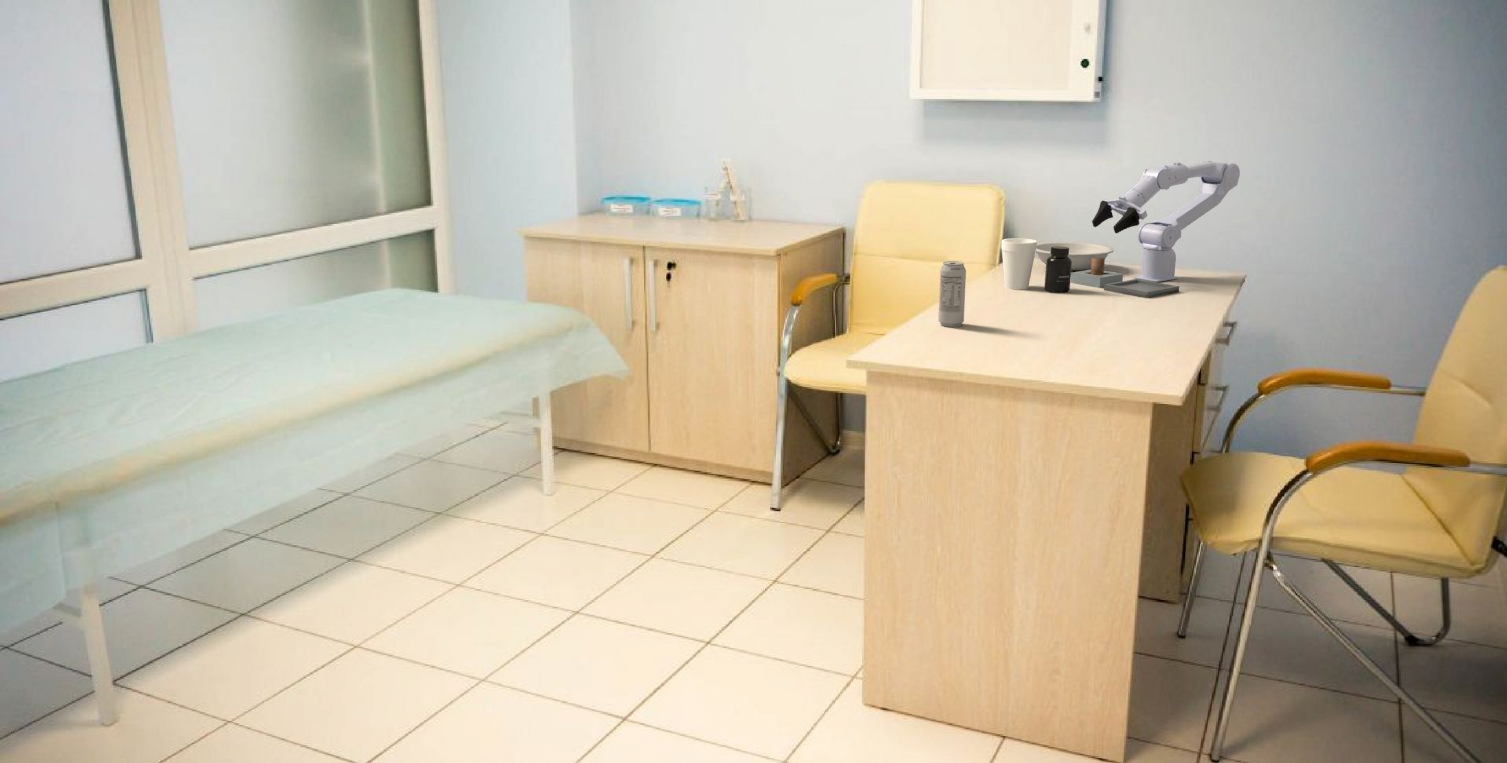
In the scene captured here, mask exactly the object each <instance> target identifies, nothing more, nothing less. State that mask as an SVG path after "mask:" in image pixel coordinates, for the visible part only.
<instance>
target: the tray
mask: <svg viewBox="0 0 1507 763" xmlns="http://www.w3.org/2000/svg"><path fill="white" fill-rule="evenodd" d="M1103 291H1107V292H1112V293H1118V294H1123V295H1128V296H1132V297H1133V296H1134V297H1139V298H1145V299H1151V298H1154V297H1159V296H1164V295H1171V294H1176V293H1180V286H1179V285H1176V284H1175V285H1174V284H1169V283H1163V282H1154V281H1148V280H1142V279H1136V278H1134V279H1129V280H1123V281H1121V282H1115V283H1110V284H1104V287H1103Z"/></svg>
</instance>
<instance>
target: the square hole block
mask: <svg viewBox="0 0 1507 763" xmlns="http://www.w3.org/2000/svg"><path fill="white" fill-rule="evenodd" d="M1123 279H1124V273H1120V272H1114V271H1107V270H1104V275H1093V274H1091V269H1086V270H1078V271H1075V272H1074V271H1072V272H1071V281H1070V284H1077V285H1081V286H1082V285H1083V286H1088V287H1093V288H1098V289H1099V288H1104V284H1110V283H1115V282H1121V281H1124V280H1123Z"/></svg>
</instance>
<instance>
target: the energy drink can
mask: <svg viewBox="0 0 1507 763" xmlns="http://www.w3.org/2000/svg"><path fill="white" fill-rule="evenodd" d="M939 271H940V272H939V295H938V322H939V323H940V326H942V327H944V328H945V327H948V328H958V327H961V326H962V324H963V323H964V321H965V302H966V301H965V300H966V283H967V282H966V279H967V276H966V275H967V270H966V267H965V266H964V262H963V261H958V260H957V261H954V260H949V261H948V260H946V261H943V263H942V266H941V268H940V270H939Z"/></svg>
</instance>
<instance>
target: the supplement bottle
mask: <svg viewBox="0 0 1507 763" xmlns="http://www.w3.org/2000/svg"><path fill="white" fill-rule="evenodd" d="M1050 254H1051V256H1050V257H1048V258H1047V260H1046V264H1045V273H1044V274H1045V275H1044V287H1043V288H1044V290H1045V292H1048V293H1053V294H1065V293H1069V292H1070V289H1071V273H1072V271H1071V268H1072V260H1071V259H1070V258H1069V257H1068V255H1069V248H1068V247H1063V246H1053V247H1051V252H1050Z"/></svg>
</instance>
